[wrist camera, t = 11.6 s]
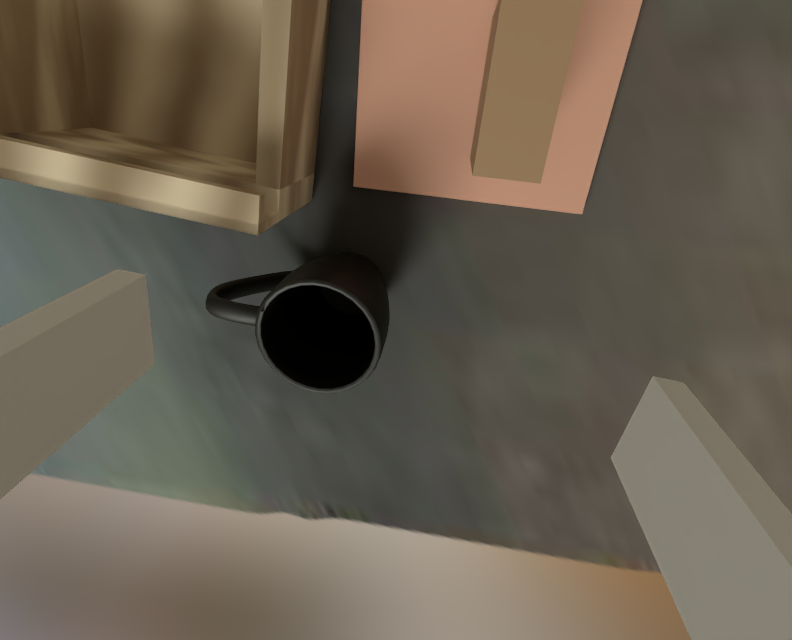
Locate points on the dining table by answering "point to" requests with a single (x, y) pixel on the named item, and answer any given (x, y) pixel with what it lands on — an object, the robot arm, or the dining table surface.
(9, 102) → the birch box
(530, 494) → the dining table surface
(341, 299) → the mug
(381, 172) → the cover plate
